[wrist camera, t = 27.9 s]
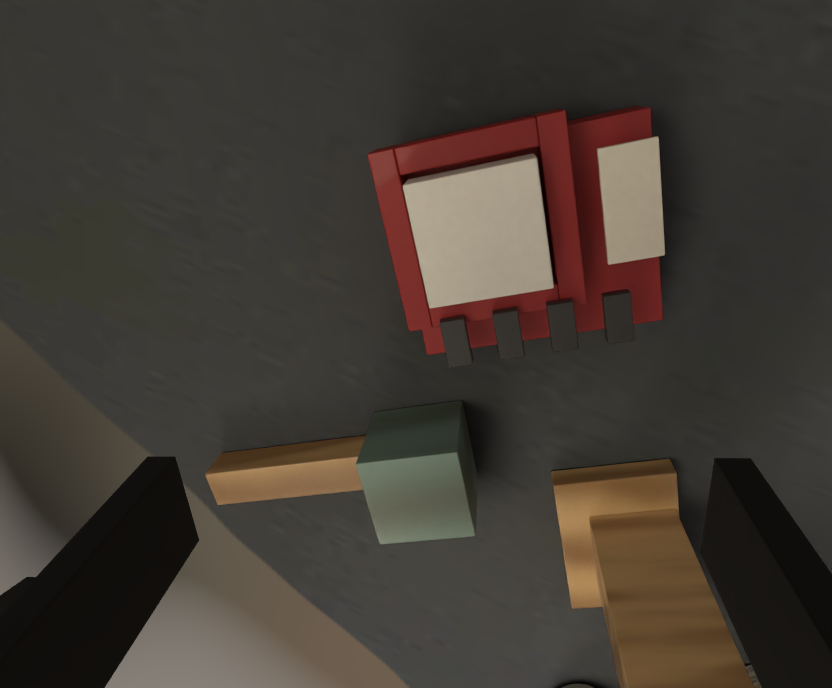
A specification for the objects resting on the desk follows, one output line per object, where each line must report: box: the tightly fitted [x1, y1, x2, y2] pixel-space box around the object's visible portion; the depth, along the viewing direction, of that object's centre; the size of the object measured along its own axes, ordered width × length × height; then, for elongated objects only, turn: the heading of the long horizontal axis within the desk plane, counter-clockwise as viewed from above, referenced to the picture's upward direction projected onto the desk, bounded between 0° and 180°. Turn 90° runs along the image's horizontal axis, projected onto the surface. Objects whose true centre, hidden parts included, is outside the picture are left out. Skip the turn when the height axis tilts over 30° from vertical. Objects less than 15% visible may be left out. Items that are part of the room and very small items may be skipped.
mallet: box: [205, 401, 478, 544], centre depth 35 cm, size 6×16×6 cm, turn 103°
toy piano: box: [368, 106, 663, 355], centre depth 28 cm, size 11×12×4 cm
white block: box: [403, 153, 554, 308], centre depth 26 cm, size 6×6×2 cm
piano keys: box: [439, 136, 665, 367], centre depth 26 cm, size 9×10×1 cm
